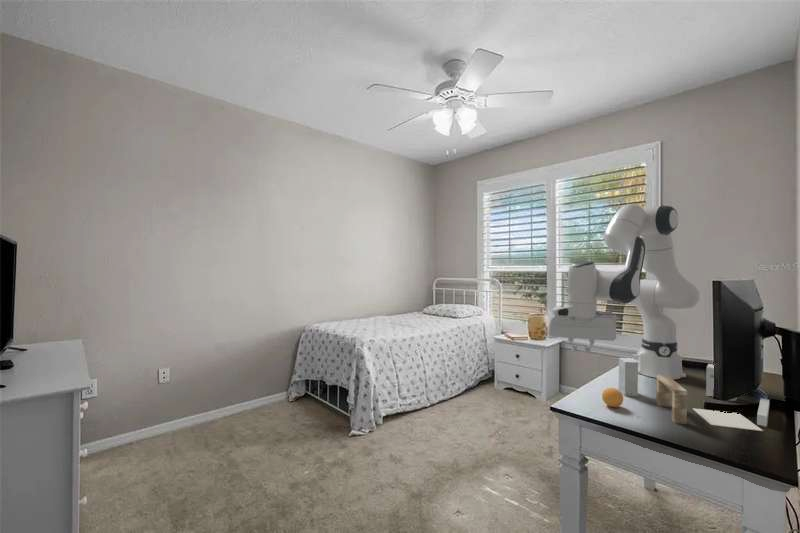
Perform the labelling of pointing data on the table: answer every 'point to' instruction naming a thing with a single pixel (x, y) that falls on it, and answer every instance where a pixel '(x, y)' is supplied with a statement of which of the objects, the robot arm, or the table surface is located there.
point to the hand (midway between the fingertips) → (580, 351)
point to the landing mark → (727, 419)
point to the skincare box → (628, 376)
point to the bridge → (677, 398)
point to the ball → (612, 397)
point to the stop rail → (763, 412)
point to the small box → (710, 380)
